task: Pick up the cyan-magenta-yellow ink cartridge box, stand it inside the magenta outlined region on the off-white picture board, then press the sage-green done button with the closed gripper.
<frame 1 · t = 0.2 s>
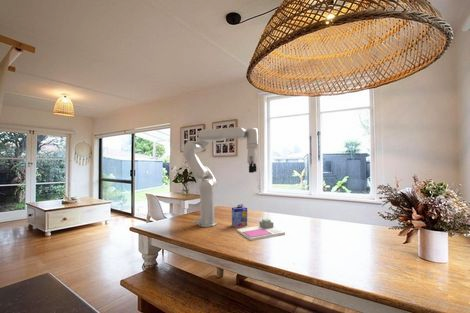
hand: (252, 172, 148), 36 cm above the table, tool pointing down, fingers open, 9 cm apart
done button: (266, 221, 142), point 4 cm above the table, slide at 0.0 cm
ink cartridge box: (239, 225, 149), on the table
picture board: (260, 232, 134), on the table
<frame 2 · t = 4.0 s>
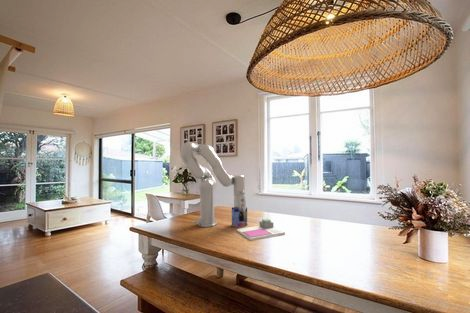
hand: (239, 219, 149), 4 cm above the table, tool pointing down, fingers closed on ink cartridge box, 5 cm apart
ink cartridge box: (239, 225, 149), on the table, touching gripper
everything else where it was.
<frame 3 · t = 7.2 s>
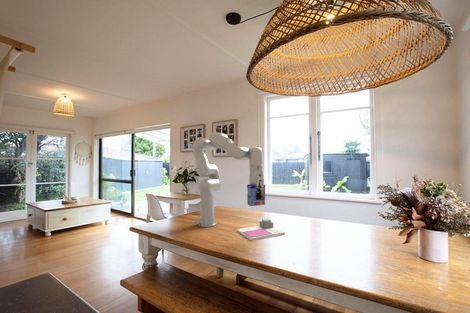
hand: (256, 198, 130), 21 cm above the table, tool pointing down, fingers closed on ink cartridge box, 5 cm apart
ink cartridge box: (256, 205, 130), point 17 cm above the table, touching gripper
everything else where it was.
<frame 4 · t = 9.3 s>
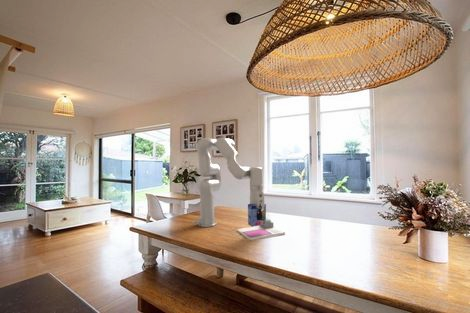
hand: (256, 218, 130), 10 cm above the table, tool pointing down, fingers closed on ink cartridge box, 5 cm apart
ink cartridge box: (257, 225, 130), point 6 cm above the table, touching gripper
everything else where it was.
when the fingers open (6 cm above the table, at t = 10.9 s): ink cartridge box drops 1 cm, resting on picture board.
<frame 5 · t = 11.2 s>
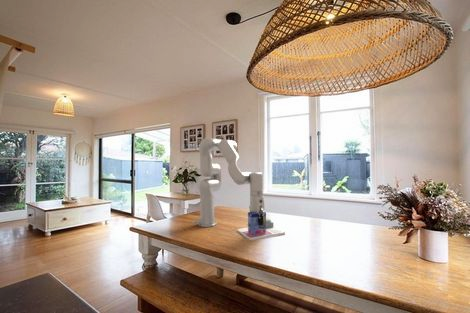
hand: (256, 222, 130), 7 cm above the table, tool pointing down, fingers open, 8 cm apart
ink cartridge box: (257, 233, 130), point 1 cm above the table, touching picture board
everything else where it was.
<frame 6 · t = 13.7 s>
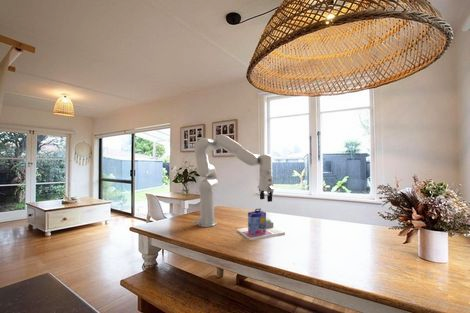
hand: (265, 200, 142), 18 cm above the table, tool pointing down, fingers open, 8 cm apart
nothing on the table moved.
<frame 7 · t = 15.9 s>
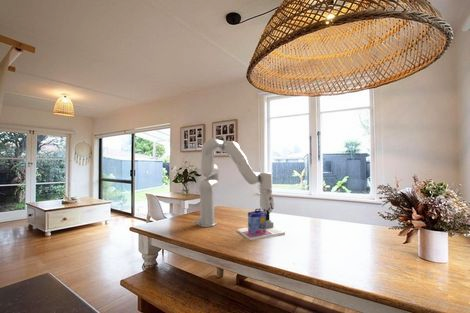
hand: (266, 220, 142), 6 cm above the table, tool pointing down, fingers closed
done button: (266, 222, 142), point 4 cm above the table, slide at 0.3 cm, touching gripper
everything else where it was.
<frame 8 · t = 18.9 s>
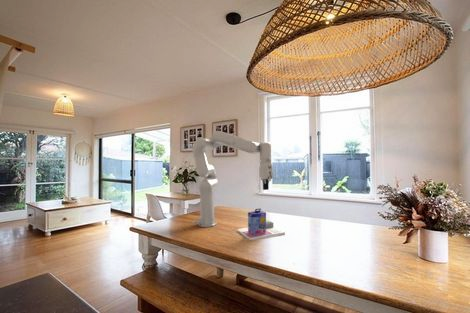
hand: (265, 189, 142), 25 cm above the table, tool pointing down, fingers closed
done button: (266, 223, 142), point 3 cm above the table, slide at 1.2 cm
everything else where it was.
at the end: ink cartridge box 0.1 cm from the target spot on the picture board, point 1.1 cm above the picture board's base; ink cartridge box tilted 0°; done button slide at 1.2 cm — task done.
